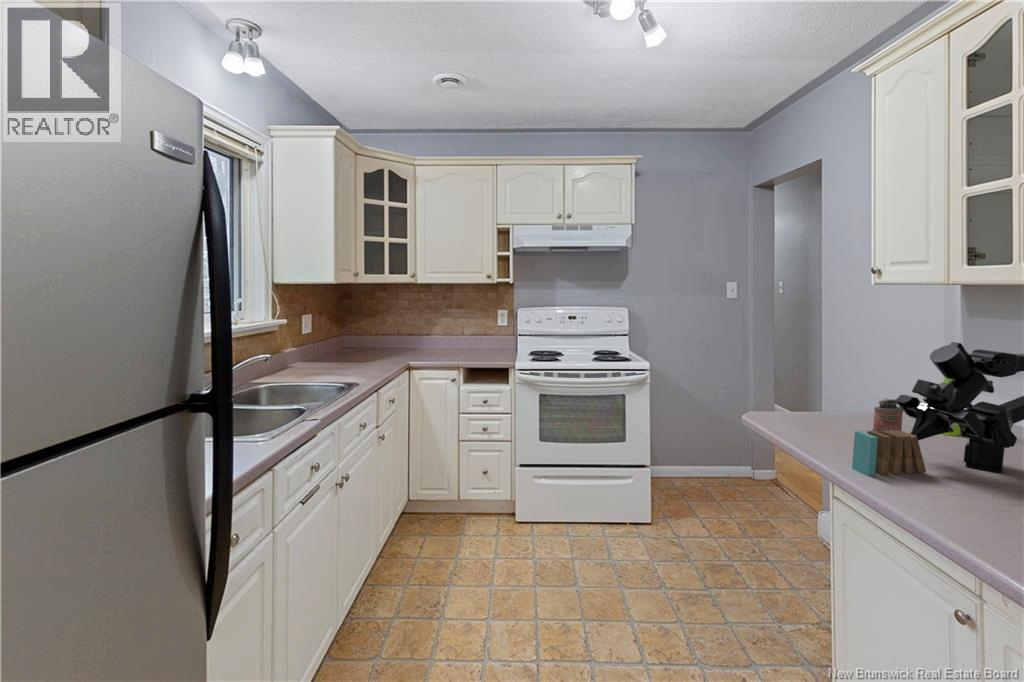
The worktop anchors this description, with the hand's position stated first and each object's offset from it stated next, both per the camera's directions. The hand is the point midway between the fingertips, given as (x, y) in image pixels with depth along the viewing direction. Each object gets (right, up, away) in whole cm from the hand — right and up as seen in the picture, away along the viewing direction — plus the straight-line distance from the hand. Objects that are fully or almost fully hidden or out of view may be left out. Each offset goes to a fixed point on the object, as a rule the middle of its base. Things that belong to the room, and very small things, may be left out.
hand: (911, 439), depth 123 cm
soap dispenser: (+33, -4, +31) cm, 46 cm away
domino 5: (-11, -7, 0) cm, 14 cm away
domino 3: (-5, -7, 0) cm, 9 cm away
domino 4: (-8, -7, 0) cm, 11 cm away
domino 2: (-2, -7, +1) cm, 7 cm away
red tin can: (+16, -4, +31) cm, 35 cm away
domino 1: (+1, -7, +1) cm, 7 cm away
